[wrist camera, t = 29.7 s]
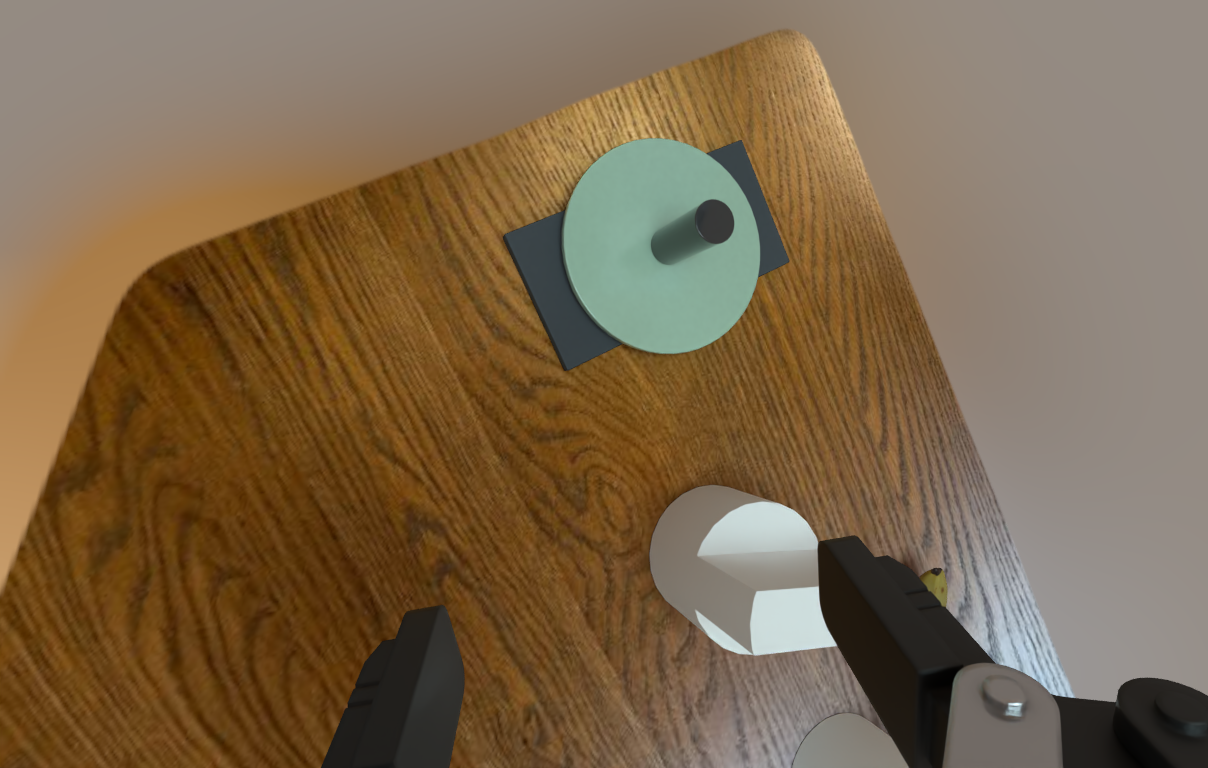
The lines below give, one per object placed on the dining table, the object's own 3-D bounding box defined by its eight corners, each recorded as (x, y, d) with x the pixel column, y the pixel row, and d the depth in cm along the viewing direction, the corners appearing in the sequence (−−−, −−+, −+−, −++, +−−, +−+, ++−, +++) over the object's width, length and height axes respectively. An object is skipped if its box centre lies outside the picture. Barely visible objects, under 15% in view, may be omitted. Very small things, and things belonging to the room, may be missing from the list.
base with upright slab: (646, 621, 39) (746, 720, 27) (652, 485, 39) (753, 527, 27) (763, 611, 42) (897, 696, 30) (768, 484, 42) (904, 521, 30)
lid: (539, 328, 36) (571, 315, 29) (581, 115, 36) (621, 53, 30) (732, 373, 40) (799, 371, 33) (765, 181, 41) (837, 141, 34)
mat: (564, 370, 37) (567, 370, 36) (502, 237, 36) (504, 234, 35) (783, 263, 42) (790, 261, 41) (735, 144, 41) (741, 139, 40)
